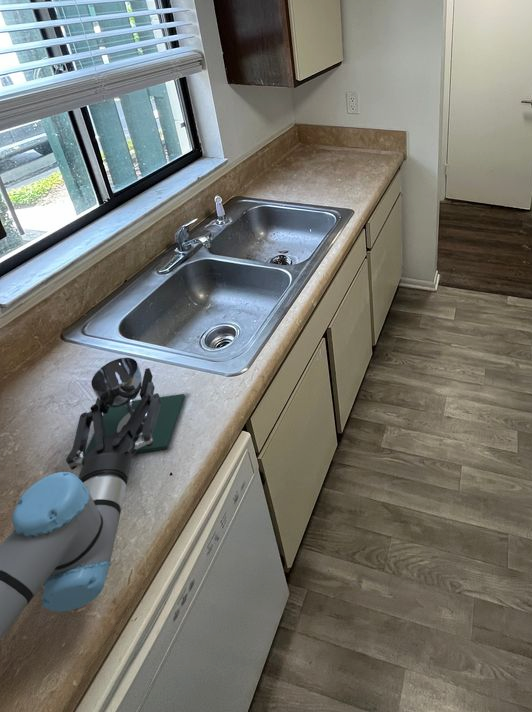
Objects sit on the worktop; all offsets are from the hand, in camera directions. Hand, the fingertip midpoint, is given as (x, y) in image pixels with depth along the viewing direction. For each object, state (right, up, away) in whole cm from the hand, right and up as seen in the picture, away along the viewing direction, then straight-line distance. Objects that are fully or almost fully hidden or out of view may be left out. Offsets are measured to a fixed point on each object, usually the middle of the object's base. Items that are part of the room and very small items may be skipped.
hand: (130, 377), depth 94 cm
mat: (+2, -11, 0) cm, 11 cm away
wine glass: (+2, -9, -1) cm, 10 cm away
